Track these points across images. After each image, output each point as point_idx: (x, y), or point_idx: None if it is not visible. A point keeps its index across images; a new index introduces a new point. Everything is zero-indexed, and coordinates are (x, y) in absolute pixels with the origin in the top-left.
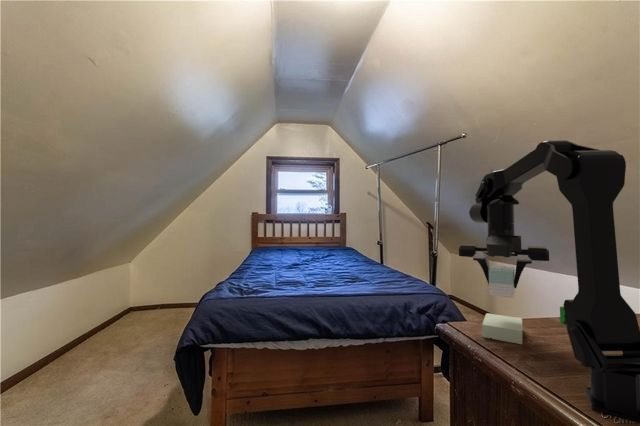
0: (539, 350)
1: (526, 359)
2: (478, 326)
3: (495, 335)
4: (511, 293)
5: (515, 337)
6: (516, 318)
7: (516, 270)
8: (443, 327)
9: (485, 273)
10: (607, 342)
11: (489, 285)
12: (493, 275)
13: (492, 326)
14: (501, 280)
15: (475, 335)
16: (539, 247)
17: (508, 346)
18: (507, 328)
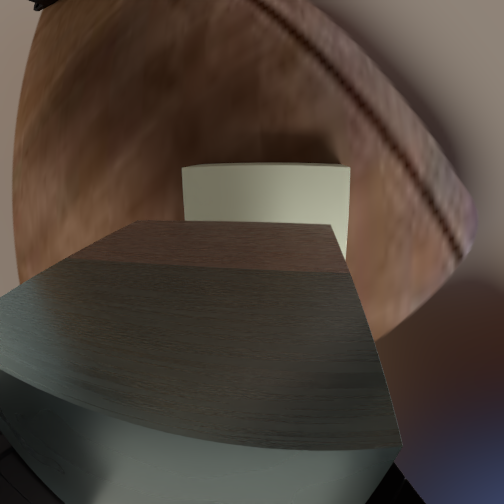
0: (151, 141)
1: (186, 40)
2: (360, 287)
3: (291, 163)
4: (134, 231)
5: (215, 164)
6: None
7: (4, 446)
8: (475, 208)
9: (388, 473)
10: None
11: (338, 255)
12: (270, 341)
13: (302, 166)
14: (155, 286)
15: (367, 171)
16: None
17: (242, 115)
18: (237, 168)
